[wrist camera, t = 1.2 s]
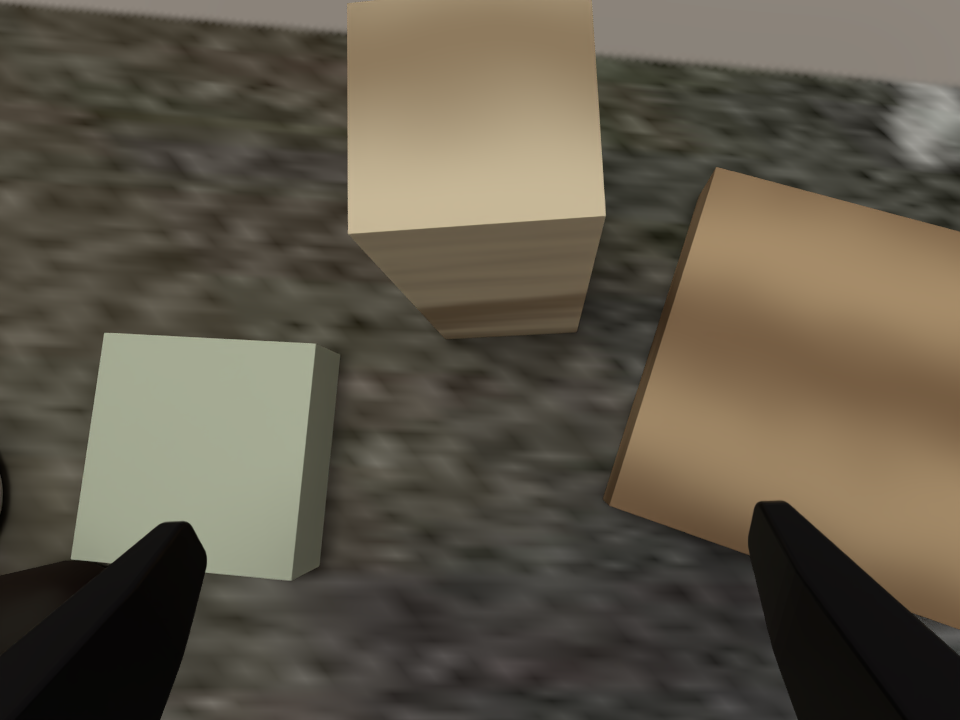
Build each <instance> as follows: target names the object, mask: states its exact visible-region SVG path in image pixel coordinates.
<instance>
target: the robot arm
mask: <svg viewBox="0 0 960 720" xmlns="http://www.w3.org/2000/svg"><path fill="white" fill-rule="evenodd" d="M748 549H749V554H750V558H751V562H752V566H753V571H754V575H755V579H756V583H757V587H758V591H759V596H760V600H761V604H762V608H763V612H764V616H765V620H766V625H767V629H768V633H769V637H770V641H771V644H772V648H773V651H774V654H775V657H776V660H777V663H778V666H779V669H780V672H781V675H782V677H783V680H784V683H785V686H786V688H787V691H788V694H789V697H790V699H791V702H792V705H793V708H794V710H795V713H796V716H797V719H798V720H960V656H959V655H958V654H957V653H956V652H955V651H954V650H953V649H951V648H950V647H949V646H948V645H947V644H946V643H945V642H944V641H942V640H941V639H940V638H939V637H938V636H937V635H936V634H935V633H934V632H932V631H931V630H930V629H929V628H928V627H927V626H926V625H925V624H923V623H922V622H921V621H920V620H919V619H918V618H917V617H916V616H915V615H913V614H912V613H911V612H910V611H909V610H908V609H907V608H906V607H904V606H903V605H902V604H901V603H900V602H899V601H898V600H897V599H895V598H894V597H893V596H892V595H891V594H890V593H889V592H888V591H887V590H885V589H884V588H883V587H882V586H881V585H880V584H879V583H878V582H876V581H875V580H874V579H873V578H872V577H871V576H870V575H869V574H868V573H866V572H865V571H864V570H863V569H862V568H861V567H860V566H859V565H857V564H856V563H855V562H854V561H853V560H852V559H851V558H850V557H848V556H847V555H846V554H845V553H844V552H843V551H842V550H841V549H840V548H838V547H837V546H836V545H835V544H834V543H833V542H832V541H831V540H829V539H828V538H827V537H826V536H825V535H824V534H823V533H822V532H821V531H819V530H818V529H817V528H816V527H815V526H814V525H813V524H812V523H810V522H809V521H808V520H807V519H806V518H805V517H804V516H803V515H801V514H800V513H799V512H798V511H797V510H796V509H795V508H794V507H793V506H791V505H790V504H789V503H787V502H785V501H782V500H773V501H759V502H757V503H756V505H755V507H754V510H753V515H752V520H751V525H750V529H749V534H748ZM206 567H207V555H206V551H205V549H204V547H203V545H202V543H201V542H200V540H199V538H198V536H197V534H196V532H195V531H194V529H193V527H192V525H191V524H190V523H188V522H187V521H168V522H163V523H161V524H159V525H158V526H156V527H155V528H154V529H153V530H151V531H150V532H149V533H148V534H146V535H145V536H144V537H143V538H142V539H140V540H139V541H138V542H137V543H136V544H134V545H133V546H132V547H131V548H130V549H128V550H127V551H126V552H125V553H123V554H122V555H121V556H120V557H119V558H117V559H116V560H115V561H114V562H113V563H111V564H110V565H109V566H108V567H106V568H105V569H104V570H103V571H102V572H100V573H99V574H98V575H97V576H96V577H94V578H93V579H92V580H91V581H89V582H88V583H87V584H86V585H85V586H83V587H82V588H81V589H80V590H79V591H77V592H76V593H75V594H74V595H72V596H71V597H70V598H69V599H68V600H66V601H65V602H64V603H63V604H62V605H60V606H59V607H58V608H57V609H56V610H54V611H53V612H52V613H51V614H49V615H48V616H47V617H46V618H45V619H43V620H42V621H41V622H40V623H39V624H37V625H36V626H35V627H34V628H32V629H31V630H30V631H29V632H28V633H26V634H25V635H24V636H23V637H22V638H20V639H19V640H18V641H17V642H15V643H14V644H13V645H12V646H11V647H9V648H8V649H7V650H6V651H5V652H3V653H2V654H1V655H0V720H160V719H161V716H162V713H163V711H164V708H165V705H166V703H167V700H168V697H169V694H170V692H171V689H172V686H173V684H174V681H175V678H176V675H177V673H178V670H179V667H180V664H181V661H182V658H183V655H184V652H185V648H186V645H187V641H188V637H189V634H190V630H191V626H192V622H193V618H194V614H195V610H196V606H197V602H198V599H199V595H200V591H201V587H202V583H203V579H204V575H205V571H206Z"/></svg>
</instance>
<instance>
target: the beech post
mask: <svg viewBox="0 0 960 720" xmlns="http://www.w3.org/2000/svg"><path fill="white" fill-rule="evenodd" d="M594 44H595V43H594V28H593V15H592V0H374V1H365V2H355V3H348V4H347V51H348V234H349V235H350V236H351V238H352V239H353V240H354V241H355V242H356V243H357V244H358V245H359V246H360V247H361V248H362V249H363V251H364V252H365V253H366V254H367V255H368V256H369V257H370V258H371V259H372V260H373V261H374V262H375V263H376V265H377V266H378V267H379V268H380V269H381V270H382V271H383V272H384V273H385V274H386V275H387V276H388V278H389V279H390V280H391V281H392V282H393V283H394V284H395V285H396V286H397V287H398V288H399V289H400V291H401V292H402V293H403V294H404V295H405V296H406V297H407V298H408V299H409V300H410V301H411V302H412V304H413V305H414V306H415V307H416V308H417V309H418V310H419V311H420V312H421V313H422V314H423V315H424V316H425V318H426V319H427V320H428V321H429V322H430V323H431V324H432V325H433V326H434V327H435V328H436V329H437V331H438V332H439V333H440V334H441V335H442V336H443V337H444V338H445V339H459V338H478V337H497V336H517V335H536V334H555V333H574V332H577V329H578V325H579V321H580V317H581V313H582V309H583V305H584V301H585V297H586V293H587V289H588V285H589V281H590V277H591V273H592V269H593V265H594V261H595V257H596V253H597V249H598V245H599V241H600V237H601V233H602V229H603V225H604V221H605V217H606V212H605V197H604V181H603V166H602V151H601V135H600V120H599V105H598V89H597V74H596V59H595V45H594Z"/></svg>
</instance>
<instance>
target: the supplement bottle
mask: <svg viewBox="0 0 960 720" xmlns="http://www.w3.org/2000/svg"><path fill="white" fill-rule="evenodd" d="M2 498H3V489H2V481H1V476H0V513H1V508H2Z"/></svg>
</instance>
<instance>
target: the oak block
mask: <svg viewBox="0 0 960 720" xmlns="http://www.w3.org/2000/svg"><path fill="white" fill-rule="evenodd" d="M603 500H604V501H605V502H606V503H607V504H608V505H609V506H612V507H615V508H618V509H620V510H623V511H626V512H629V513H632V514H635V515H637V516H640V517H643V518H646V519H649V520H651V521H654V522H657V523H660V524H663V525H666V526H668V527H671V528H674V529H677V530H680V531H683V532H685V533H688V534H691V535H694V536H697V537H700V538H702V539H705V540H708V541H711V542H714V543H716V544H719V545H722V546H725V547H728V548H731V549H733V550H736V551H739V552H742V553H745V554H748V555H750V554H749V549H748V534H749V529H750V525H751V520H752V515H753V510H754V507H755V505H756V503H757V502H759V501H773V500H782V501H785V502H787V503H789V504H790V505H791V506H793V507H794V508H795V509H796V510H797V511H798V512H799V513H800V514H801V515H803V516H804V517H805V518H806V519H807V520H808V521H809V522H810V523H812V524H813V525H814V526H815V527H816V528H817V529H818V530H819V531H821V532H822V533H823V534H824V535H825V536H826V537H827V538H828V539H829V540H831V541H832V542H833V543H834V544H835V545H836V546H837V547H838V548H840V549H841V550H842V551H843V552H844V553H845V554H846V555H847V556H848V557H850V558H851V559H852V560H853V561H854V562H855V563H856V564H857V565H859V566H860V567H861V568H862V569H863V570H864V571H865V572H866V573H868V574H869V575H870V576H871V577H872V578H873V579H874V580H875V581H876V582H878V583H879V584H880V585H881V586H882V587H883V588H884V589H885V590H887V591H888V592H889V593H890V594H891V595H892V596H893V597H894V598H895V599H897V600H898V601H899V602H900V603H901V604H902V605H903V606H904V607H906V608H907V609H908V610H909V611H910V612H912V613H914V614H917V615H920V616H923V617H926V618H929V619H931V620H934V621H937V622H940V623H943V624H945V625H948V626H951V627H954V628H957V629H960V232H958V231H955V230H951V229H947V228H943V227H940V226H936V225H932V224H928V223H925V222H921V221H917V220H913V219H910V218H906V217H902V216H898V215H895V214H891V213H887V212H883V211H880V210H876V209H872V208H868V207H864V206H861V205H857V204H853V203H849V202H846V201H842V200H838V199H834V198H831V197H827V196H823V195H819V194H816V193H812V192H808V191H804V190H801V189H797V188H793V187H789V186H786V185H782V184H778V183H774V182H771V181H767V180H763V179H759V178H756V177H752V176H748V175H744V174H741V173H737V172H733V171H729V170H726V169H722V168H718V167H716V169H715V170H714V172H713V174H712V175H711V177H710V179H709V180H708V182H707V184H706V185H705V187H704V189H703V190H702V192H701V194H700V195H699V198H698V201H697V204H696V207H695V210H694V214H693V217H692V220H691V223H690V226H689V229H688V232H687V236H686V239H685V242H684V245H683V248H682V251H681V254H680V258H679V261H678V264H677V267H676V270H675V273H674V277H673V280H672V283H671V286H670V289H669V292H668V295H667V299H666V302H665V305H664V308H663V311H662V314H661V317H660V321H659V324H658V327H657V330H656V333H655V336H654V340H653V343H652V346H651V349H650V352H649V355H648V358H647V362H646V365H645V368H644V371H643V374H642V377H641V380H640V384H639V387H638V390H637V393H636V396H635V399H634V403H633V406H632V409H631V412H630V415H629V418H628V421H627V425H626V428H625V431H624V434H623V437H622V440H621V443H620V447H619V450H618V453H617V456H616V459H615V462H614V465H613V469H612V472H611V475H610V478H609V481H608V484H607V488H606V491H605V494H604V497H603Z"/></svg>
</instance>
